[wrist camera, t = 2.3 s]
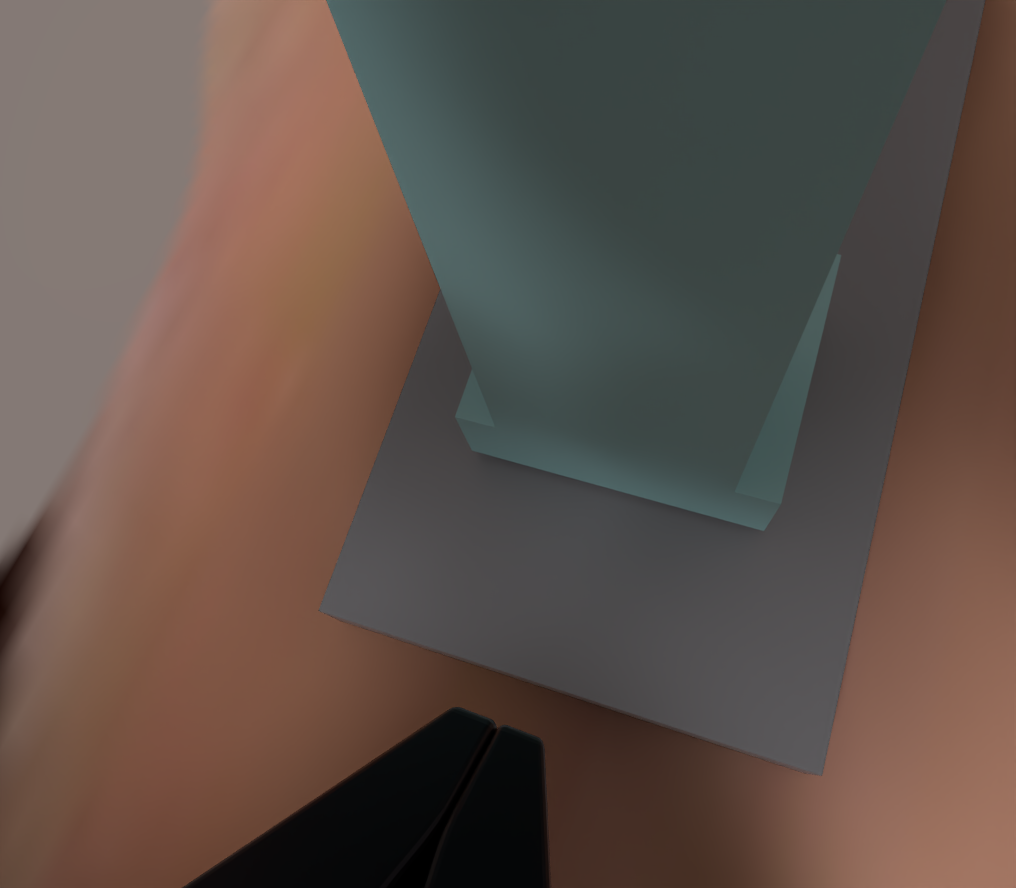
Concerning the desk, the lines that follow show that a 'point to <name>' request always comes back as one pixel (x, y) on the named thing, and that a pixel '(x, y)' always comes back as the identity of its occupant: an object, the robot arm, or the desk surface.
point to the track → (668, 529)
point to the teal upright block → (637, 216)
